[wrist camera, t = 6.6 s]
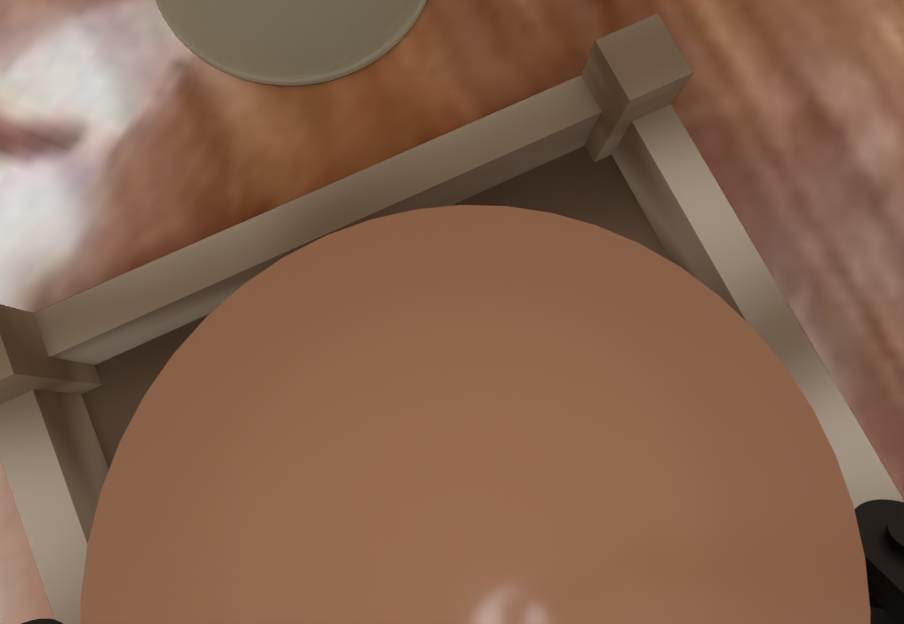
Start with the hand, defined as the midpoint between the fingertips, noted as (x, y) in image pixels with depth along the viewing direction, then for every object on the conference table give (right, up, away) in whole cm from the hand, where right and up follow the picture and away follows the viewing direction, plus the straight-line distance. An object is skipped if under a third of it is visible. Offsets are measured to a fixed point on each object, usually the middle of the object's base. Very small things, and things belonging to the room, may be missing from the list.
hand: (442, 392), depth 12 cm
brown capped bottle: (0, -3, +5) cm, 5 cm away
